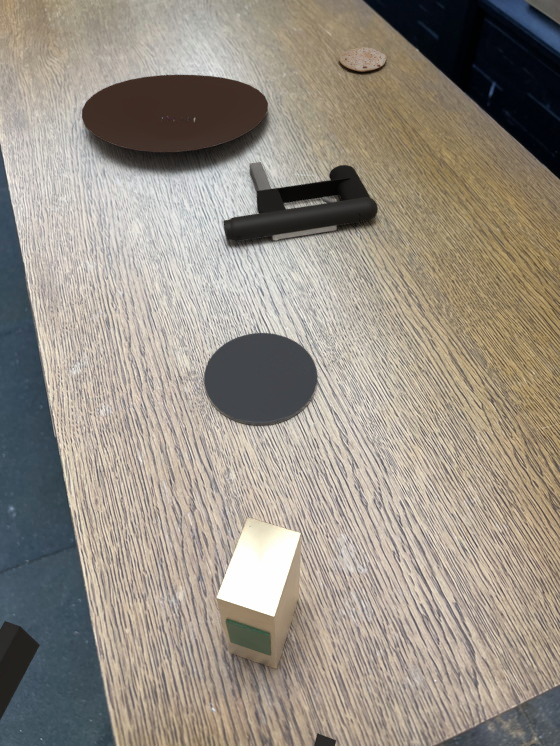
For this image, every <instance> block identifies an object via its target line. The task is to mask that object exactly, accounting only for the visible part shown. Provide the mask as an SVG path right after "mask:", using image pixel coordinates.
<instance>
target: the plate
mask: <svg viewBox="0 0 560 746" xmlns="http://www.w3.org/2000/svg"><path fill="white" fill-rule="evenodd" d="M268 112H269V102H268V100H267V98H266V96H265V95H264V94H263V93H262V92H261V91H260V90H259V89H257V88H255V87H254V86H253V85H250V84H248V83H245V82H242V81H239V80H235V79H230V78H226V77H221V76H214V75H213V76H212V75H203V74H202V75H200V74H159V75H150V76H142V77H138V78H137V77H136V78H132V79H127V80H123V81H119V82H117V83H114V84H111V85H109V86H107V87H104V88H102V89H100V90H99V91H97V92H95V93H94V94H93V95H91V96H90V97H89V98H88V99H87V100H86V101H85V102H84V105H83V107H82V109H81V120H82V122H83V124H84V127H85V128H86V129H88V130H89V132H91V134H93V135H94V136H96V137H97V138H98V139H101V140H102V141H104V142H106V143H109V144H111V145H115V146H117V147H120V148H124V149H125V148H126V149H130V150H132V151H133V150H134V151H141V152H150V153H151V152H152V153H179V152H189V151H196V150H203V149H206V148H211V147H216V146H218V145H221V144H222V145H223V144H226V143H228V142H231V141H234V140H235V139H238V138H239V137H241V136H244V135H246V134H247V133H249V132H250V131H252V130H253V129H254V128H256V127H258V126H259V124H260V123H261V122H262V121H264V119H265V118H266V115H267V113H268Z"/></svg>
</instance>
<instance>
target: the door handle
mask: <svg viewBox="0 0 560 746" xmlns="http://www.w3.org/2000/svg"><path fill="white" fill-rule="evenodd" d="M248 165H249V176H250V178H251V181H252V183H253V186H254V189H255V191H256V207H257V212H258V213H253V214H247V215H246V214H245V215H239V216H233V217H230V218H229V219H225V220H223V222H222V223H223V231H224V236H225V240H226V241H232V242H242V241H248V240H254V239H261V238H267V237H271V238H272V240H273V241H276V242H277V241H279V240H283V239H289V238H295V237H301V236H307V235H313V234H320V233H326V232H327V233H328V232H332V231H333V232H334V231H337V228H338V227H337V226H343V225H351V224H357V223H359V224H360V225H361V226H362V222H369V221H372V220H373V219H374V218H375V217H376V216H377V213H378V210H379V209H378V203H377V202H376V200H375V199H373V198H372V197H371V196H370V193H369V192H368V190H367V188H366V187H365V185H364V184H363V182H362V179H361V178H360V176H359V174H358V173H357V171H356V169H355V168H354V167H353V166H351V165H348V164H341V165H337V166H335V167H333V168H332V169H331V170H330V171H329V175H328V176H329V180H322V181H315V182H309V183H301V184H295V185H289V186H281V187H273V188H272V186H271V184H270V182H269V181H270V180H269V179H268V176H267V173H266V171H265V169H264V166H263V163H262V161H257V162H250V163H249V164H248ZM334 196H338V197H339V199H340V200H338V201H335V200H334V199H332V198H330V197H334ZM316 199H322V202H324V203H319V204H318V203H317V204H311V205H306V206H298V207H291V208H286V206H285V204H289V203H295V202H302V201H309V200H316Z"/></svg>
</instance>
